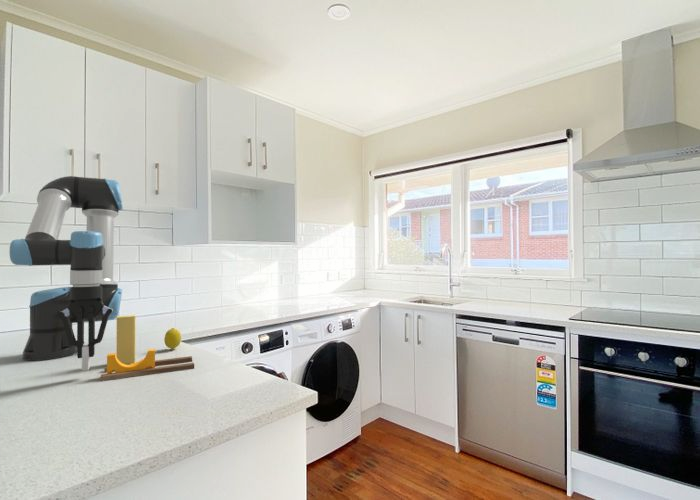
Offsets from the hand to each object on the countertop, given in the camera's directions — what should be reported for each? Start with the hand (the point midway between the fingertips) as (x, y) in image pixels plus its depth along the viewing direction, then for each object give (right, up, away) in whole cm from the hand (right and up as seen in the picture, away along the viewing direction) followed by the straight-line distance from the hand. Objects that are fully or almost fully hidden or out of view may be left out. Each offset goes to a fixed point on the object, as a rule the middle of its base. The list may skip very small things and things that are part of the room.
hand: (85, 368), depth 104 cm
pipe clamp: (+10, -3, +4) cm, 12 cm away
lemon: (+10, -3, +31) cm, 33 cm away
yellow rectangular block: (+2, -3, +15) cm, 16 cm away
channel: (+14, -3, +8) cm, 16 cm away
